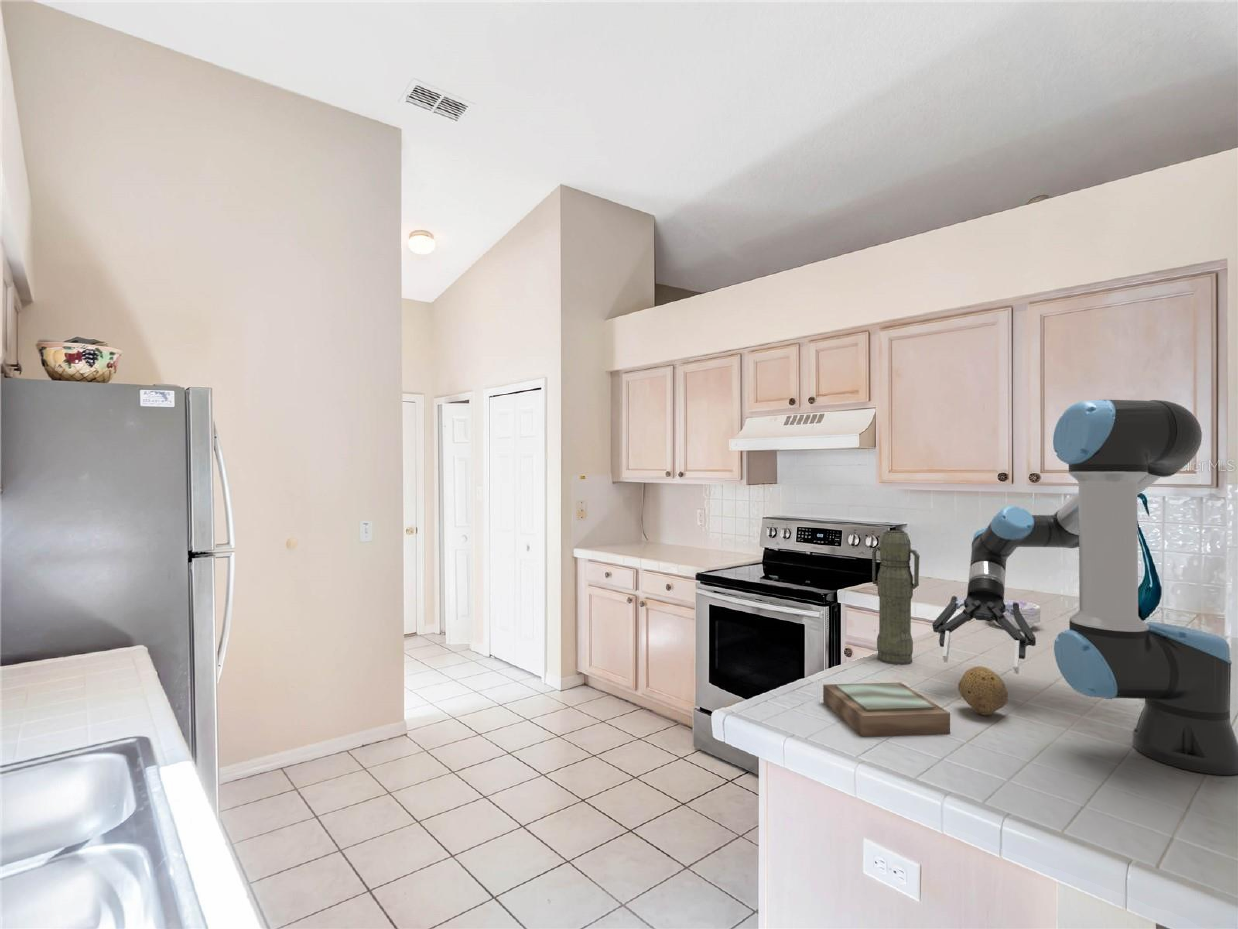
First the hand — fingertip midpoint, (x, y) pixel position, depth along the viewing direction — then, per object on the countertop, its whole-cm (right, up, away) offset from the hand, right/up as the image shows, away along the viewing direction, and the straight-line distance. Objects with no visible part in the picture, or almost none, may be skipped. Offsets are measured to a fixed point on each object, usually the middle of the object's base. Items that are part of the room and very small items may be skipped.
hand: (979, 664), depth 140 cm
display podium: (-24, -9, -6) cm, 26 cm away
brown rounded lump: (-2, -9, -4) cm, 10 cm away
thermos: (-4, -9, +34) cm, 35 cm away
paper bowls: (+52, -10, +72) cm, 89 cm away
